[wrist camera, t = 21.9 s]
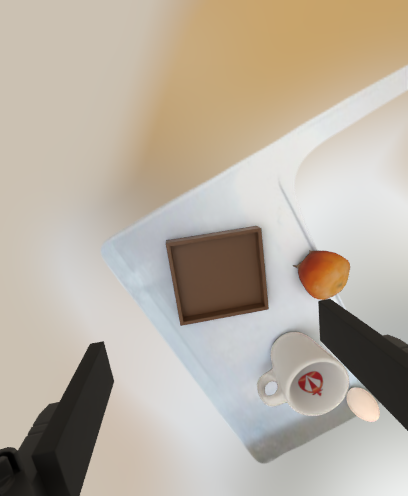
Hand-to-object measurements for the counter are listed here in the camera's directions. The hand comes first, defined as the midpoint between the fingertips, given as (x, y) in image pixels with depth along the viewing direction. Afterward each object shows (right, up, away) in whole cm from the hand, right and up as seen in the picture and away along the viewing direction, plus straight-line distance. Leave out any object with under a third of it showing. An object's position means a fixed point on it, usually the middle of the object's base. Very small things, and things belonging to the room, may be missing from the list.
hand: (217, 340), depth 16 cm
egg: (+29, -24, +39) cm, 54 cm away
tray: (+1, +1, +30) cm, 30 cm away
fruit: (+19, +2, +32) cm, 37 cm away
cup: (+14, -14, +35) cm, 40 cm away
